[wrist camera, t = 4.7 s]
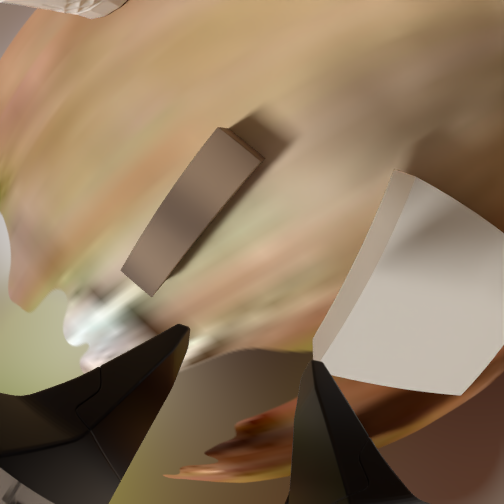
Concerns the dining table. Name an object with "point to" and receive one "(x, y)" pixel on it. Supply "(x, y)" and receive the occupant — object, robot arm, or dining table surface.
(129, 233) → the dining table surface
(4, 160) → the dining table surface
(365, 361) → the slab
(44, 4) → the white cup
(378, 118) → the dining table surface
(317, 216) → the dining table surface
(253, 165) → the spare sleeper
